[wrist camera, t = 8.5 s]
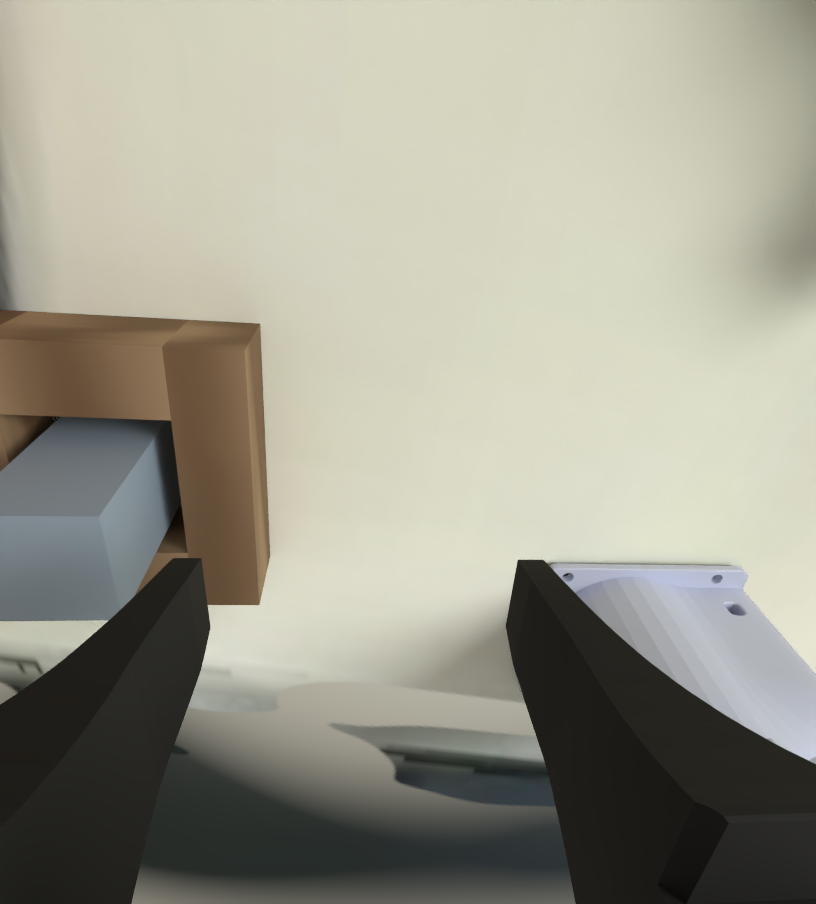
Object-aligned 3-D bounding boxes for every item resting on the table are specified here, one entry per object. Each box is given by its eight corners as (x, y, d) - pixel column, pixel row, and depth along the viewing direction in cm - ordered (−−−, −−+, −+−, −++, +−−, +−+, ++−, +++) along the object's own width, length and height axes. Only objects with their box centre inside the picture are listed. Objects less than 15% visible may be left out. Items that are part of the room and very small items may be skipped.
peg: (174, 409, 21) (98, 516, 15) (186, 492, 23) (122, 620, 17) (71, 406, 21) (-49, 515, 15) (91, 491, 23) (-10, 621, 17)
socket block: (260, 323, 20) (244, 351, 17) (269, 555, 25) (259, 605, 22) (-51, 307, 19) (-117, 333, 16) (20, 552, 24) (-23, 603, 21)
